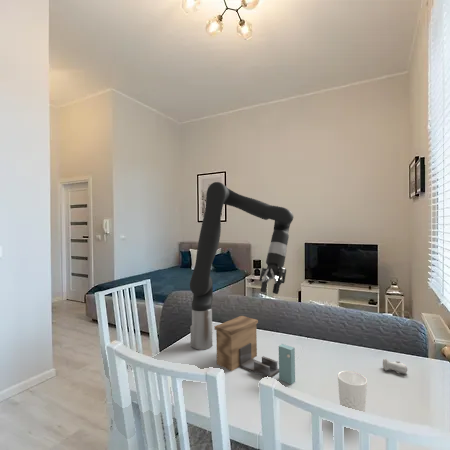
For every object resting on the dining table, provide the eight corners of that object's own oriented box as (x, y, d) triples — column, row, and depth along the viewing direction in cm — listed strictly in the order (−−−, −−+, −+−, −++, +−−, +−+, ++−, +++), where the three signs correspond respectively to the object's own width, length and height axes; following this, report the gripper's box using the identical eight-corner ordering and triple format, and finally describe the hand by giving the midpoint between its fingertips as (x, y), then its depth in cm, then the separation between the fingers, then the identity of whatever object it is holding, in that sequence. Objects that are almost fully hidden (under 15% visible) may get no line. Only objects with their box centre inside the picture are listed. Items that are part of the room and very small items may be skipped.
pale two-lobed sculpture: (407, 374, 106) (407, 376, 102) (383, 368, 110) (381, 370, 106) (407, 362, 107) (407, 363, 103) (383, 356, 111) (382, 357, 107)
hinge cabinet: (215, 364, 114) (214, 326, 113) (241, 349, 126) (241, 315, 126) (261, 385, 98) (260, 341, 98) (286, 366, 111) (286, 327, 111)
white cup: (365, 405, 87) (364, 373, 87) (369, 422, 79) (368, 387, 79) (337, 400, 89) (337, 369, 89) (338, 417, 82) (338, 382, 82)
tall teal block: (277, 380, 101) (277, 346, 101) (282, 376, 104) (282, 343, 104) (290, 385, 98) (289, 351, 98) (295, 381, 101) (294, 347, 100)
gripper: (260, 253, 125) (251, 289, 120) (280, 250, 112) (271, 291, 107) (273, 258, 127) (266, 294, 123) (294, 256, 115) (287, 296, 110)
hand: (268, 292), depth 115 cm, fingers open, 8 cm apart
